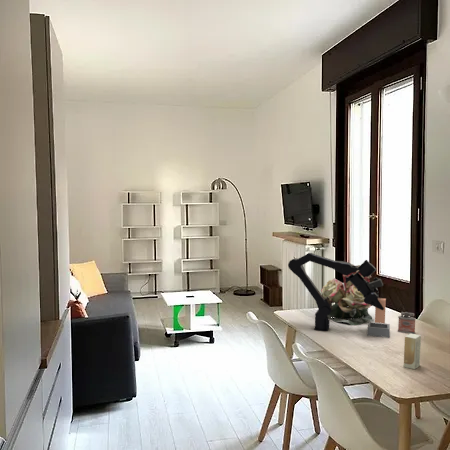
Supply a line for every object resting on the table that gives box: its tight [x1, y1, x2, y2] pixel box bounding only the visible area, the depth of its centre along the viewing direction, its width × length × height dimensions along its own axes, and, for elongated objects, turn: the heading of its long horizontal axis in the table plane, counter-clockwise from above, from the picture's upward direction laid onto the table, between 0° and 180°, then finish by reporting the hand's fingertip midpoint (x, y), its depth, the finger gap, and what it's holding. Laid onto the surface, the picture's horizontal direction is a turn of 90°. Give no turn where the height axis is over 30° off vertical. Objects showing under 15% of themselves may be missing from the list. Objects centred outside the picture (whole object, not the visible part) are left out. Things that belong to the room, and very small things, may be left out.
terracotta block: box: [374, 297, 387, 324], centre depth 237 cm, size 4×4×11 cm
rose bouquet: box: [320, 263, 374, 326], centre depth 267 cm, size 26×29×30 cm
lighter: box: [397, 311, 417, 335], centre depth 243 cm, size 8×3×10 cm, turn 62°
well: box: [366, 321, 391, 338], centre depth 240 cm, size 10×10×4 cm
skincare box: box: [403, 333, 422, 370], centre depth 193 cm, size 6×4×12 cm
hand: (383, 308), depth 237 cm, fingers closed on terracotta block, 4 cm apart
